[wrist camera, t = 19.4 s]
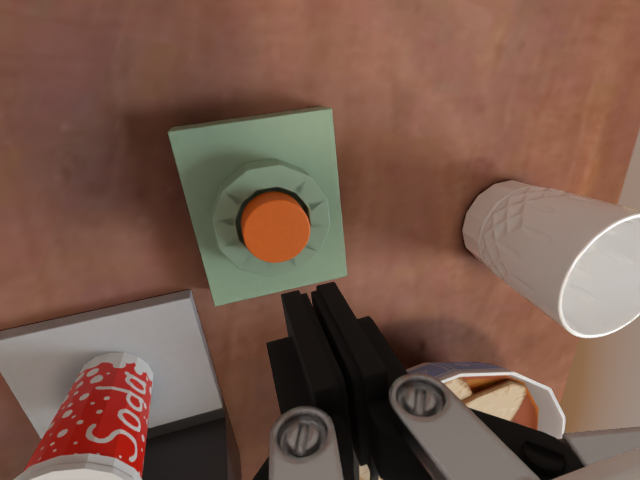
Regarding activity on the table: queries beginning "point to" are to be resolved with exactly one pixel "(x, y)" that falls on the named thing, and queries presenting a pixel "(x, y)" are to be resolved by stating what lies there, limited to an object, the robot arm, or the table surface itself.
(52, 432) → the beverage cup
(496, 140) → the table surface
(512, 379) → the ramen bowl
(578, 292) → the white cup
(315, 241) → the brew pad
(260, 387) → the table surface
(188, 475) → the coffee maker
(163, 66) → the table surface
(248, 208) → the button
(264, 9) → the table surface
